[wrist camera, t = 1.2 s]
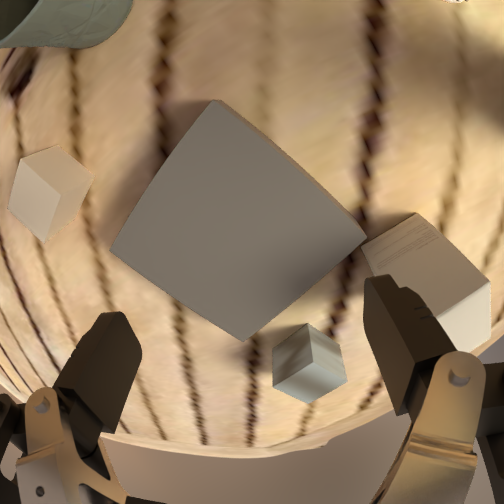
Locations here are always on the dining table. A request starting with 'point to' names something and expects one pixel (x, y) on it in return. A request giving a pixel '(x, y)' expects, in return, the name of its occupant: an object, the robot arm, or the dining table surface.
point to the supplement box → (436, 278)
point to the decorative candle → (453, 1)
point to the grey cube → (308, 365)
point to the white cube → (48, 191)
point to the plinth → (235, 225)
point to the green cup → (60, 22)
